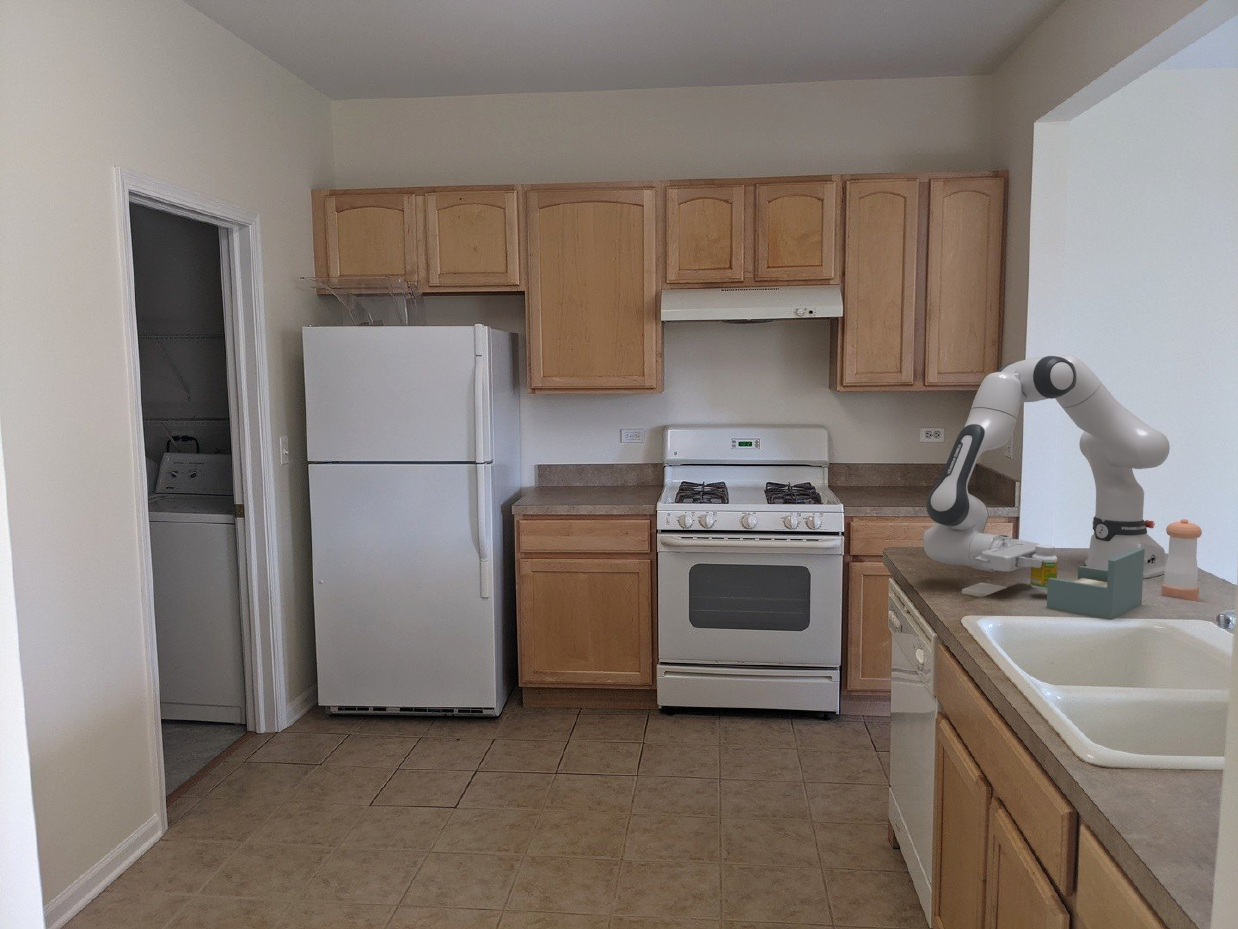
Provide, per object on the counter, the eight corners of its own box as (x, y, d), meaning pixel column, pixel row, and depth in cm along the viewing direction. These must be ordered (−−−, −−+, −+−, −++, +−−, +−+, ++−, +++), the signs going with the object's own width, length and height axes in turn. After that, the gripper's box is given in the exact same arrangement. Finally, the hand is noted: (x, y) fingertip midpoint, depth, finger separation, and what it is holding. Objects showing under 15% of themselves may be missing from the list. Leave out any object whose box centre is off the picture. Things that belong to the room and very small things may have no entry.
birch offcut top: (1060, 592, 196) (1060, 585, 196) (1082, 584, 203) (1082, 578, 203) (1103, 600, 189) (1103, 593, 189) (1124, 591, 196) (1124, 585, 196)
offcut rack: (1046, 614, 195) (1049, 551, 194) (1078, 599, 207) (1081, 540, 206) (1111, 626, 185) (1114, 561, 184) (1141, 610, 198) (1144, 548, 196)
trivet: (961, 593, 214) (961, 589, 214) (980, 586, 220) (981, 582, 220) (1002, 601, 206) (1003, 596, 206) (1021, 593, 213) (1021, 589, 213)
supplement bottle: (1044, 591, 201) (1046, 549, 200) (1024, 585, 206) (1027, 544, 205) (1061, 588, 203) (1063, 547, 202) (1041, 583, 208) (1043, 542, 207)
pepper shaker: (1163, 595, 211) (1168, 515, 209) (1199, 600, 206) (1205, 518, 204) (1158, 601, 205) (1163, 519, 203) (1195, 606, 201) (1201, 523, 199)
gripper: (969, 545, 206) (1029, 554, 196) (1008, 534, 219) (1066, 542, 209) (968, 572, 206) (1028, 582, 196) (1007, 559, 220) (1065, 568, 210)
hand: (1048, 561), depth 203 cm, fingers closed on supplement bottle, 5 cm apart
